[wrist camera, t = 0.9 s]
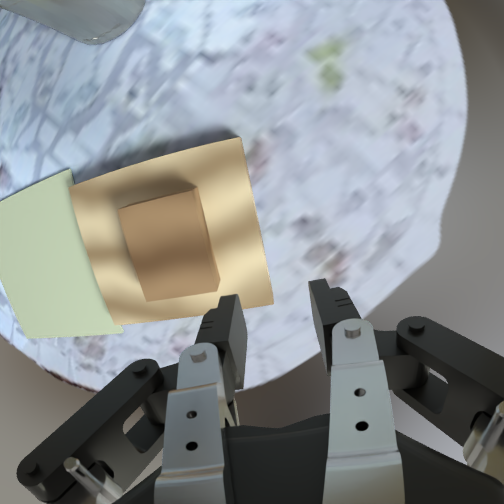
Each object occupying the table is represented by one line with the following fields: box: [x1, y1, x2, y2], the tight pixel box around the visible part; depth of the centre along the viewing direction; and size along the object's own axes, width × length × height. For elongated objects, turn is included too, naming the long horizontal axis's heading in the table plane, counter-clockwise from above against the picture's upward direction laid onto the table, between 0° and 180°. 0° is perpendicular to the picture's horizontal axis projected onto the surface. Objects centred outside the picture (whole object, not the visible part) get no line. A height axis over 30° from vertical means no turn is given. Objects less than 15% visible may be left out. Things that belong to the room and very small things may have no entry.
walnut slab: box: [117, 187, 221, 302], centre depth 27 cm, size 9×7×2 cm
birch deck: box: [68, 137, 274, 325], centre depth 29 cm, size 16×18×2 cm
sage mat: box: [0, 169, 124, 338], centre depth 32 cm, size 20×19×1 cm
